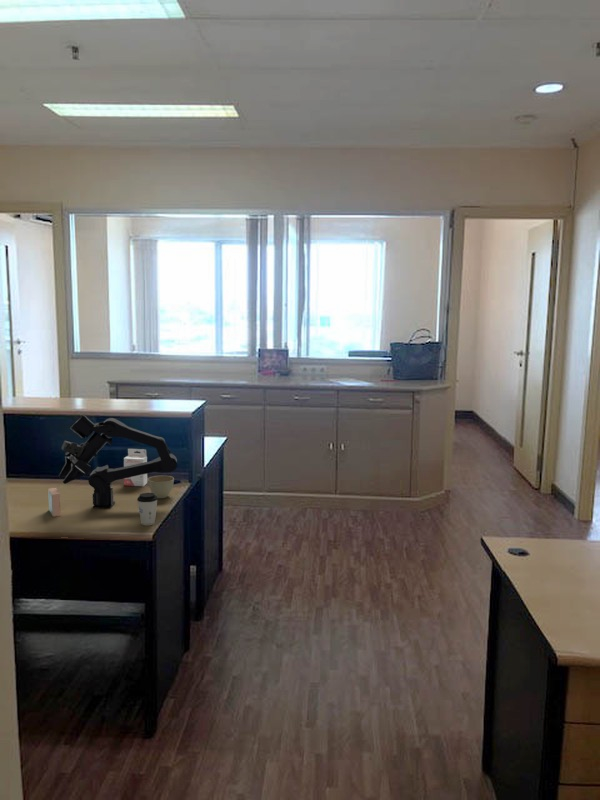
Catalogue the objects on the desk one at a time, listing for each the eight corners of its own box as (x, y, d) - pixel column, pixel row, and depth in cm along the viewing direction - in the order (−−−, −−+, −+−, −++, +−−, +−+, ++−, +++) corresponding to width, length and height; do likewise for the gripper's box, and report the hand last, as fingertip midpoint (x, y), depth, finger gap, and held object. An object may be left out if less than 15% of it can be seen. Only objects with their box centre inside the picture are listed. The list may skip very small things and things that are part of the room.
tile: (56, 509, 221) (55, 487, 220) (60, 515, 215) (59, 493, 213) (48, 510, 220) (47, 488, 219) (52, 516, 213) (51, 494, 212)
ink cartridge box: (123, 485, 252) (122, 451, 249) (128, 482, 256) (127, 448, 254) (143, 486, 251) (143, 451, 249) (148, 483, 256) (147, 449, 253)
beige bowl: (171, 500, 233) (171, 482, 232) (145, 500, 233) (144, 482, 232) (176, 492, 243) (176, 475, 242) (151, 492, 243) (151, 475, 242)
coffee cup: (160, 519, 212) (159, 491, 210) (156, 526, 205) (155, 497, 203) (140, 519, 212) (139, 491, 210) (135, 526, 205) (134, 497, 203)
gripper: (70, 428, 225) (39, 460, 221) (80, 437, 209) (47, 472, 205) (92, 446, 230) (63, 479, 226) (104, 457, 215) (73, 492, 211)
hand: (61, 480), depth 217 cm, fingers open, 8 cm apart
